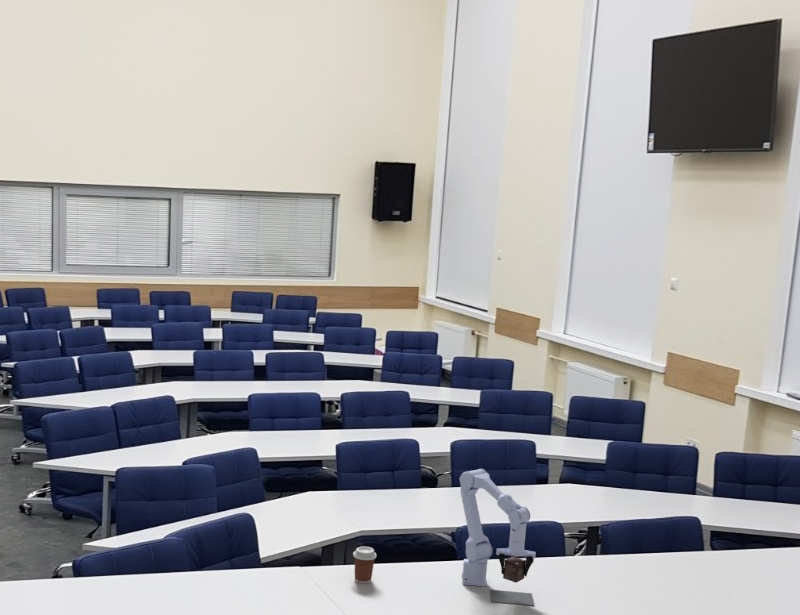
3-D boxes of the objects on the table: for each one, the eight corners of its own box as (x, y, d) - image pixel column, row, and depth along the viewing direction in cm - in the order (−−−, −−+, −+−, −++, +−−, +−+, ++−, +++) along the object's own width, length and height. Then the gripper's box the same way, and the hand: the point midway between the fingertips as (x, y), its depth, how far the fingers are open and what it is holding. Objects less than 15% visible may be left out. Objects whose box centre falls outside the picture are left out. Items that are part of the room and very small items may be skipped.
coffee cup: (353, 584, 365) (356, 554, 364) (348, 575, 374) (351, 545, 373) (377, 584, 368) (379, 553, 367) (371, 574, 377) (373, 545, 375)
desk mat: (491, 602, 359) (491, 601, 359) (489, 590, 370) (489, 589, 370) (534, 606, 359) (534, 605, 359) (531, 594, 370) (531, 593, 370)
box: (510, 574, 368) (512, 555, 367) (524, 579, 364) (526, 560, 364) (502, 578, 363) (504, 559, 362) (516, 583, 359) (518, 564, 359)
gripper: (498, 541, 358) (495, 576, 360) (537, 545, 358) (534, 580, 359) (497, 535, 365) (494, 569, 367) (535, 538, 365) (532, 573, 366)
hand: (513, 574), depth 363 cm, fingers closed on box, 7 cm apart
